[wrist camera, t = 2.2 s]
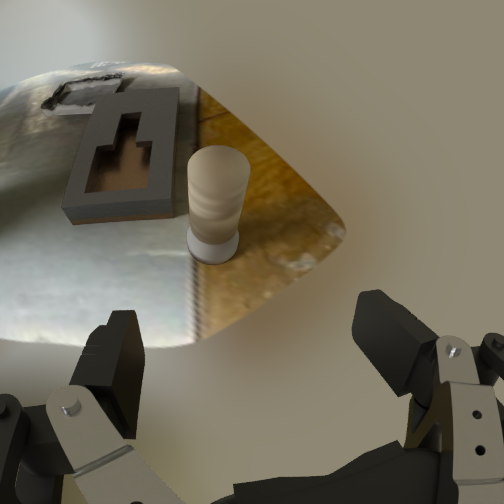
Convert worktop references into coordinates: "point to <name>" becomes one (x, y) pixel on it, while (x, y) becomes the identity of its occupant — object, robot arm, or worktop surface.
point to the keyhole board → (126, 159)
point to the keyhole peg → (215, 202)
